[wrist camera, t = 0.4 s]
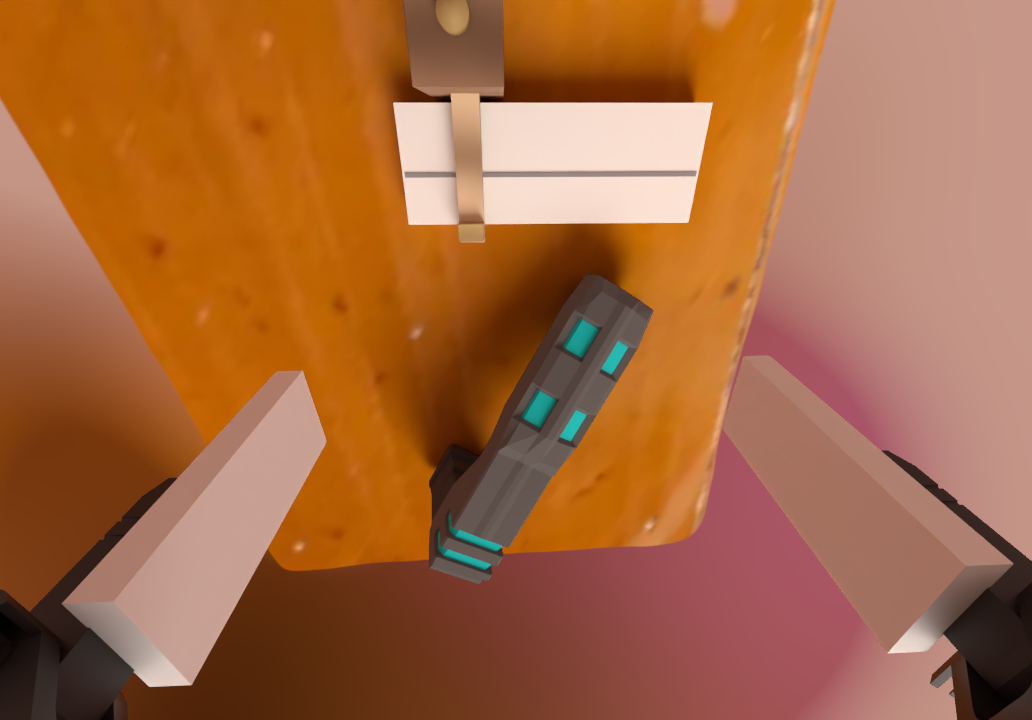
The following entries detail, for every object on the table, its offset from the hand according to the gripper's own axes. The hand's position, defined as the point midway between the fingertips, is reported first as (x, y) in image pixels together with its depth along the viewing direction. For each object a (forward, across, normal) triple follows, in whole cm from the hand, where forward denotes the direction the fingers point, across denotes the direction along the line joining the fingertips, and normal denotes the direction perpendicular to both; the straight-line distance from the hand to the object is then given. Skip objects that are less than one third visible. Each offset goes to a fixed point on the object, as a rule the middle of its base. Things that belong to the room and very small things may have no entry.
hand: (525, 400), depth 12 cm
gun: (+26, +1, -17) cm, 31 cm away
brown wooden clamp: (+25, -3, +8) cm, 27 cm away
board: (+25, +3, +5) cm, 26 cm away
